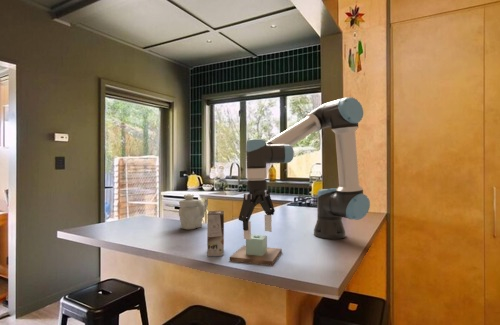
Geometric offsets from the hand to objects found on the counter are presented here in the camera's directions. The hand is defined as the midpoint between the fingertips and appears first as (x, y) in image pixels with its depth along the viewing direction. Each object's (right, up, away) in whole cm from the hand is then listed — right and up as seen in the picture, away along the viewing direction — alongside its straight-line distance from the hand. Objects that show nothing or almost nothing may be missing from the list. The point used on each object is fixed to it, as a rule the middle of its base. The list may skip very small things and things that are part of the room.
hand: (258, 235), depth 114 cm
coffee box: (-17, -8, +5) cm, 19 cm away
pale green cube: (-1, -7, 0) cm, 7 cm away
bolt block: (-1, -8, 0) cm, 8 cm away
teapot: (-34, -9, +53) cm, 64 cm away
